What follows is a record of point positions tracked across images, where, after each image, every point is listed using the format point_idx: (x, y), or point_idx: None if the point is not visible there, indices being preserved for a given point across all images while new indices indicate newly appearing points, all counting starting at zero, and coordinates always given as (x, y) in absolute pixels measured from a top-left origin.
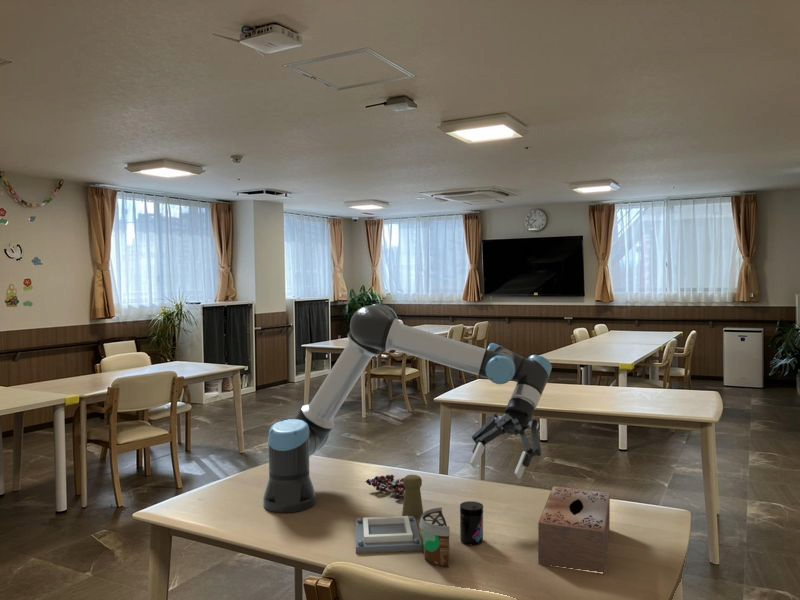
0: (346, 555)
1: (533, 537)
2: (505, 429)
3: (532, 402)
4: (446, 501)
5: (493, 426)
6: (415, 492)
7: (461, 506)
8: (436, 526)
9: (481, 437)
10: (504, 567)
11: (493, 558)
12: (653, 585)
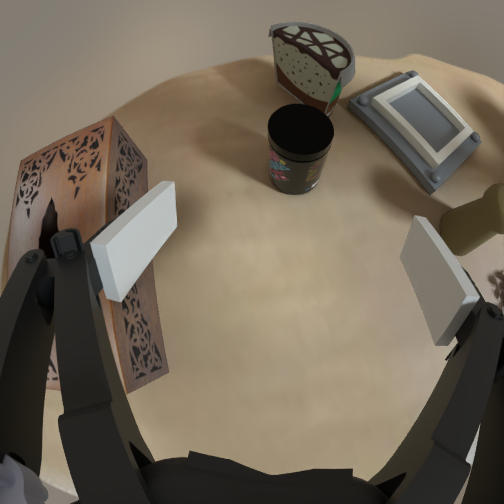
0: (410, 70)
1: (180, 261)
2: (337, 470)
3: None
4: (443, 346)
5: (475, 491)
6: (478, 202)
7: (320, 112)
8: (293, 23)
9: (493, 330)
10: (196, 121)
11: (223, 135)
12: None
